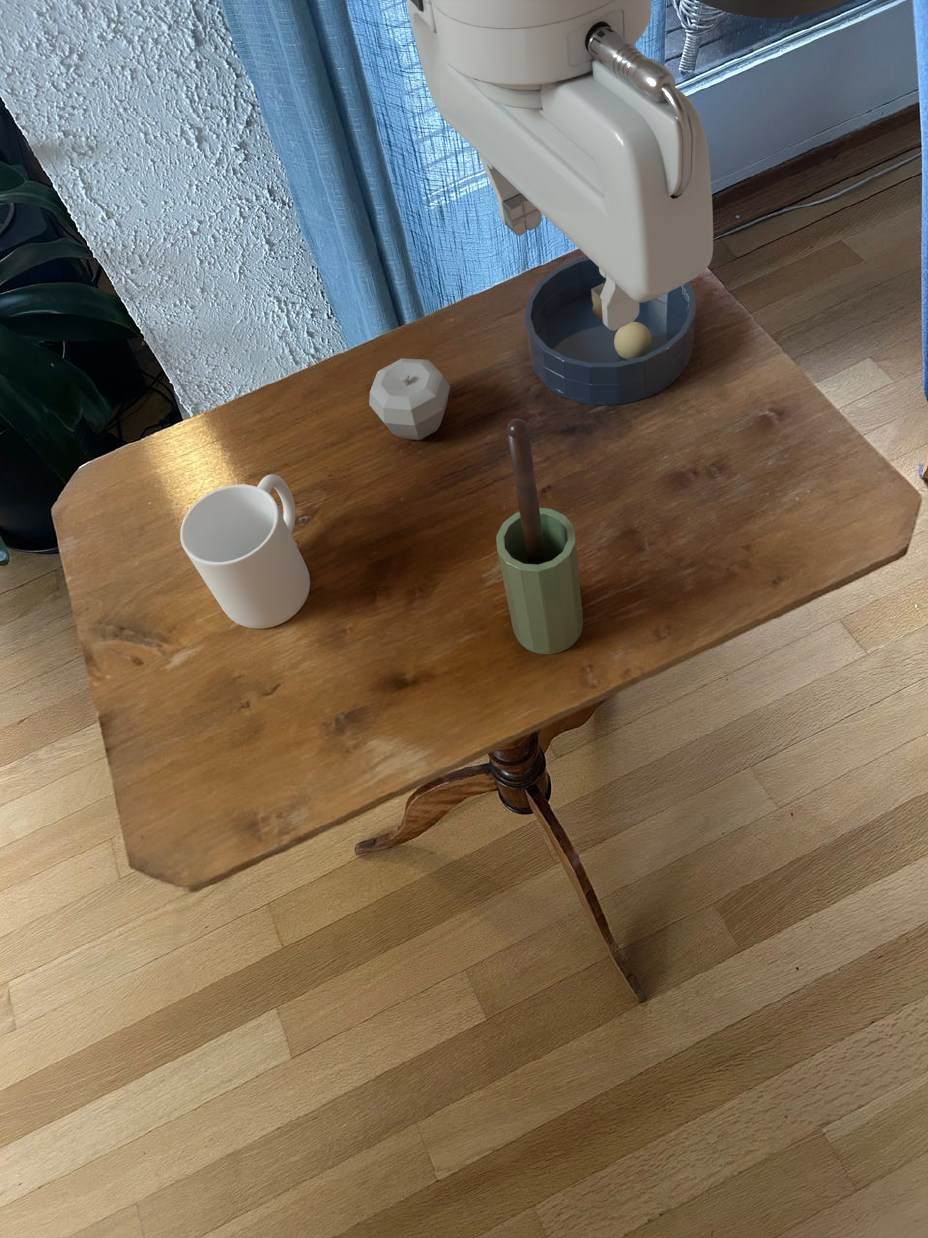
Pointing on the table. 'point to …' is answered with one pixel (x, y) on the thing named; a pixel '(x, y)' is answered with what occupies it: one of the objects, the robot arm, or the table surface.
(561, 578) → the crock
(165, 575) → the table surface
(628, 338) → the dough ball
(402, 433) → the grey apple
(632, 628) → the table surface
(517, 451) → the dark wooden dowel
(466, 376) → the table surface
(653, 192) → the robot arm
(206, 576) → the cup
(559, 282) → the bowl
